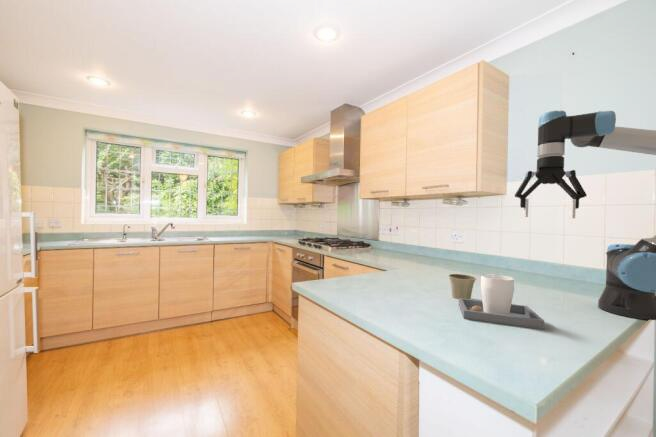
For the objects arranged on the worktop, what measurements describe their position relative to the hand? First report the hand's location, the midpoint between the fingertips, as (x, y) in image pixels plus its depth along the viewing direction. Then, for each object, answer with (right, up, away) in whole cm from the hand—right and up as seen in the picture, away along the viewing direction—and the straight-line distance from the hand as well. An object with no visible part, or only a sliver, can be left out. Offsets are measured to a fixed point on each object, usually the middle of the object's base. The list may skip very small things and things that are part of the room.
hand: (548, 217), depth 99 cm
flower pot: (-27, -31, +7) cm, 42 cm away
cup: (-25, -31, -11) cm, 41 cm away
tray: (-25, -31, -12) cm, 42 cm away
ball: (-32, -30, -14) cm, 46 cm away
